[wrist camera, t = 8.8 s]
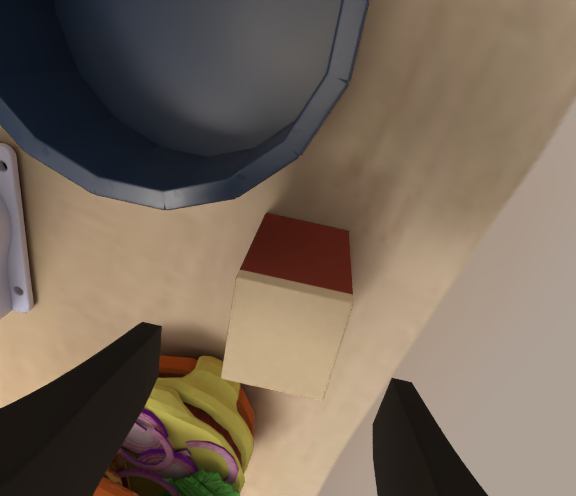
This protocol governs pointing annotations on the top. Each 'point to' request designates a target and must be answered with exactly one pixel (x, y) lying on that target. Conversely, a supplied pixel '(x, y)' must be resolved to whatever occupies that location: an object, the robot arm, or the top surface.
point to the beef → (290, 308)
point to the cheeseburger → (186, 436)
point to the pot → (172, 90)
